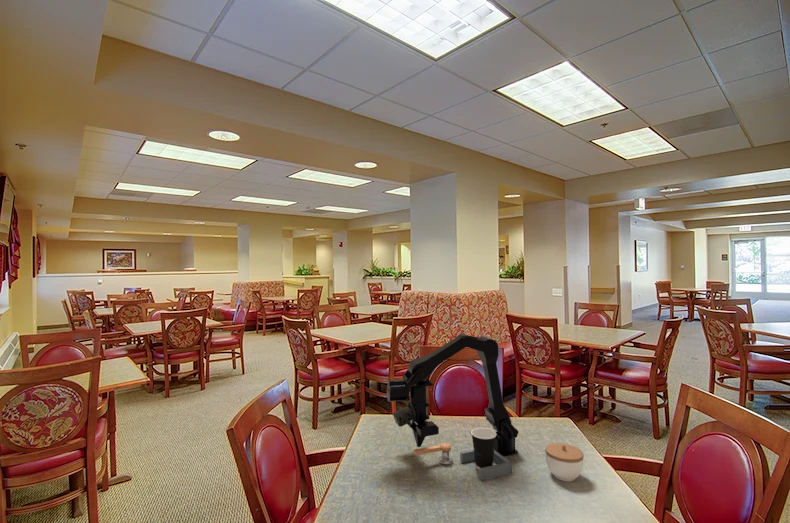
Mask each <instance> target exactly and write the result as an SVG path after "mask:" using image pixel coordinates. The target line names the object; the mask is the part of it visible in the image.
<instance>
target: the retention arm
mask: <svg viewBox="0 0 790 523" xmlns="http://www.w3.org/2000/svg"><path fill="white" fill-rule="evenodd" d="M451 450H452V445H451V443H448V442H441V443H440V444H437V445H433V446H432V445H431V446H427V447H419V448H415V449H414V448H413V454H414V455H415V456H421V455H427V454H432V453H436V452H442V451H449V452H450V451H451Z"/></svg>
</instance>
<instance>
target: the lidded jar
mask: <svg viewBox="0 0 790 523" xmlns="http://www.w3.org/2000/svg"><path fill="white" fill-rule="evenodd" d="M544 452H545V461H546V465H547V467H548V469H549V471H550V473H551V474H552V475H553V476H554V478H556V479H557V480H559V481H562V482H567V483H568V482H574V481H575V480H576V479H577V478H579V476H580V475H581V473H582V471H583V468H584V452H583V451H582V450H581V449H580V448H578V447H576V446H574V445H572V444H568V443H563V442H551V443H549V444H547V445H546V446H545V449H544Z"/></svg>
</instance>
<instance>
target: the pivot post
mask: <svg viewBox="0 0 790 523" xmlns="http://www.w3.org/2000/svg"><path fill="white" fill-rule="evenodd" d="M437 462H438V463H439V464H440V465H443V466H444V465H445V466H449V465H452V464H453V463H454V458H453V457H452V456H450V451H442V450H441V456H438V457H437Z"/></svg>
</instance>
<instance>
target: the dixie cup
mask: <svg viewBox="0 0 790 523" xmlns="http://www.w3.org/2000/svg"><path fill="white" fill-rule="evenodd" d="M496 432H497V431H496V430H493V429H491V428H486V427H476V428H473V429H472V430H471V432H470V433H471V437H472V438H471V439H472V447H473V449H474V457H475V460H474V463H475V466H476V469H477V470H478V471H479V468H483V467H488V466H493V465H494V462H493V457H494V447H495V437H496V435H497V434H496Z"/></svg>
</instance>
